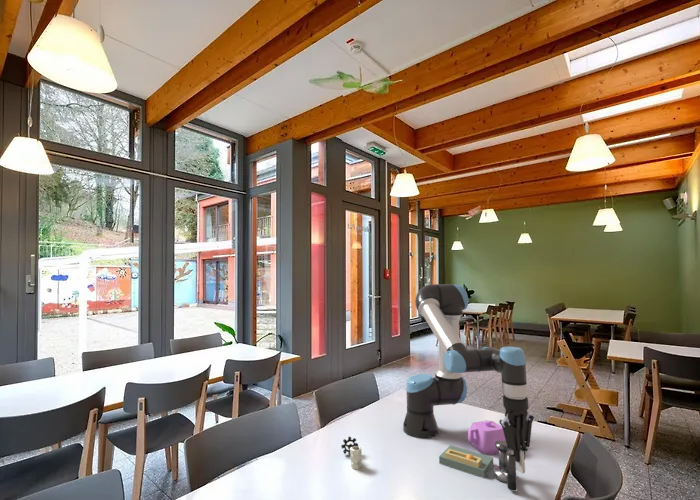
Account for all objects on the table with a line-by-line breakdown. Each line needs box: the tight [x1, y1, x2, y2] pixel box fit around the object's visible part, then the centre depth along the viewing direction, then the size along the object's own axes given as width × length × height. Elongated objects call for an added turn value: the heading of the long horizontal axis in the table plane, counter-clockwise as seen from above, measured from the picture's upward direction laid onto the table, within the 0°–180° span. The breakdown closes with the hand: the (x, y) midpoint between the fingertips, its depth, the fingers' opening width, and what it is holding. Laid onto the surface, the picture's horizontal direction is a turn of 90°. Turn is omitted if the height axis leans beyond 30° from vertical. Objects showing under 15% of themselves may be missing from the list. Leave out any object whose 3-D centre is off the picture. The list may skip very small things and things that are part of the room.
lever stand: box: [438, 444, 494, 479], centre depth 130 cm, size 16×11×5 cm
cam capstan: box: [493, 441, 518, 491], centre depth 118 cm, size 13×7×11 cm, turn 172°
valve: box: [341, 435, 363, 470], centre depth 132 cm, size 7×7×12 cm
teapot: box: [467, 419, 506, 455], centre depth 142 cm, size 18×10×10 cm, turn 104°
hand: (520, 471), depth 115 cm, fingers closed
